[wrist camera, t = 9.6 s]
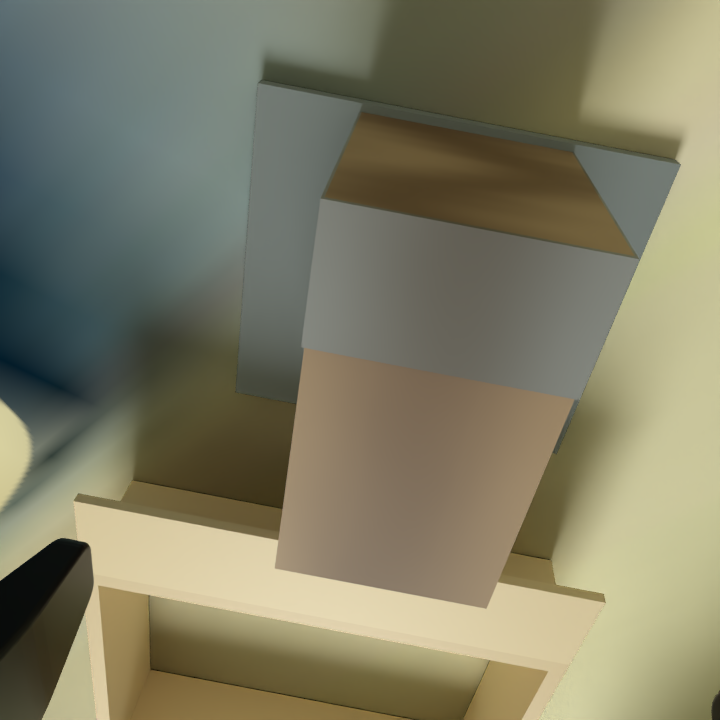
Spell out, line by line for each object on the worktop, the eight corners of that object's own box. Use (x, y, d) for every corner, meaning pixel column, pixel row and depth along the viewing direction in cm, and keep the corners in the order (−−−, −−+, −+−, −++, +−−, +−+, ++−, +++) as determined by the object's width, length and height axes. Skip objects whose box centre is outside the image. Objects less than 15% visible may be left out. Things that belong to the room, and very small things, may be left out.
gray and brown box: (573, 152, 16) (638, 259, 10) (476, 443, 20) (488, 612, 15) (359, 111, 16) (320, 198, 10) (313, 412, 20) (271, 571, 15)
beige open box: (580, 500, 22) (605, 602, 18) (451, 769, 32) (452, 867, 28) (129, 413, 22) (73, 501, 18) (140, 709, 32) (105, 801, 28)
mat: (676, 159, 16) (680, 164, 15) (554, 445, 21) (556, 453, 20) (261, 79, 16) (258, 83, 15) (238, 384, 21) (235, 392, 20)
